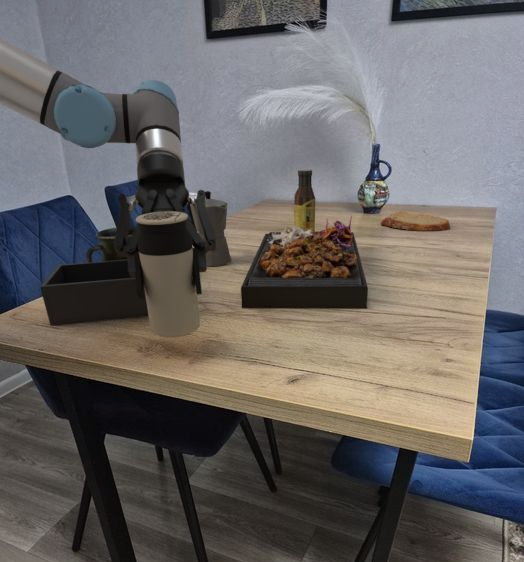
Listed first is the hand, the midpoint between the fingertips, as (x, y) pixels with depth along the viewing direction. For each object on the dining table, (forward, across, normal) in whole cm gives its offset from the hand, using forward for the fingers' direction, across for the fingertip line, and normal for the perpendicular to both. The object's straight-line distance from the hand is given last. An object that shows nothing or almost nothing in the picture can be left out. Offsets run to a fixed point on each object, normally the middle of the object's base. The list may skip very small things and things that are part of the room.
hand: (169, 292), depth 70 cm
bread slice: (-47, -75, -62) cm, 108 cm away
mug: (-22, +13, -38) cm, 46 cm away
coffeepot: (-31, -8, -47) cm, 57 cm away
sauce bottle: (-42, -37, -58) cm, 80 cm away
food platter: (-19, -30, -35) cm, 50 cm away
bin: (-11, +14, -28) cm, 33 cm away
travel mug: (+3, 0, -8) cm, 8 cm away
